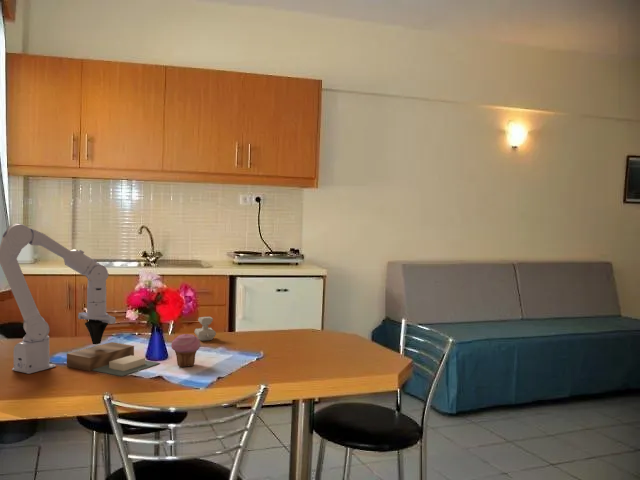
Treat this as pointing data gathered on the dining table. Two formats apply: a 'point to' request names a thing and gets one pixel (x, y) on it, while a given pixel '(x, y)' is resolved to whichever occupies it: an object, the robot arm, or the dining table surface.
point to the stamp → (205, 329)
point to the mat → (121, 373)
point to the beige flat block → (127, 363)
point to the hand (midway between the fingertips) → (96, 343)
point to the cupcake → (185, 349)
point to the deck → (98, 355)
